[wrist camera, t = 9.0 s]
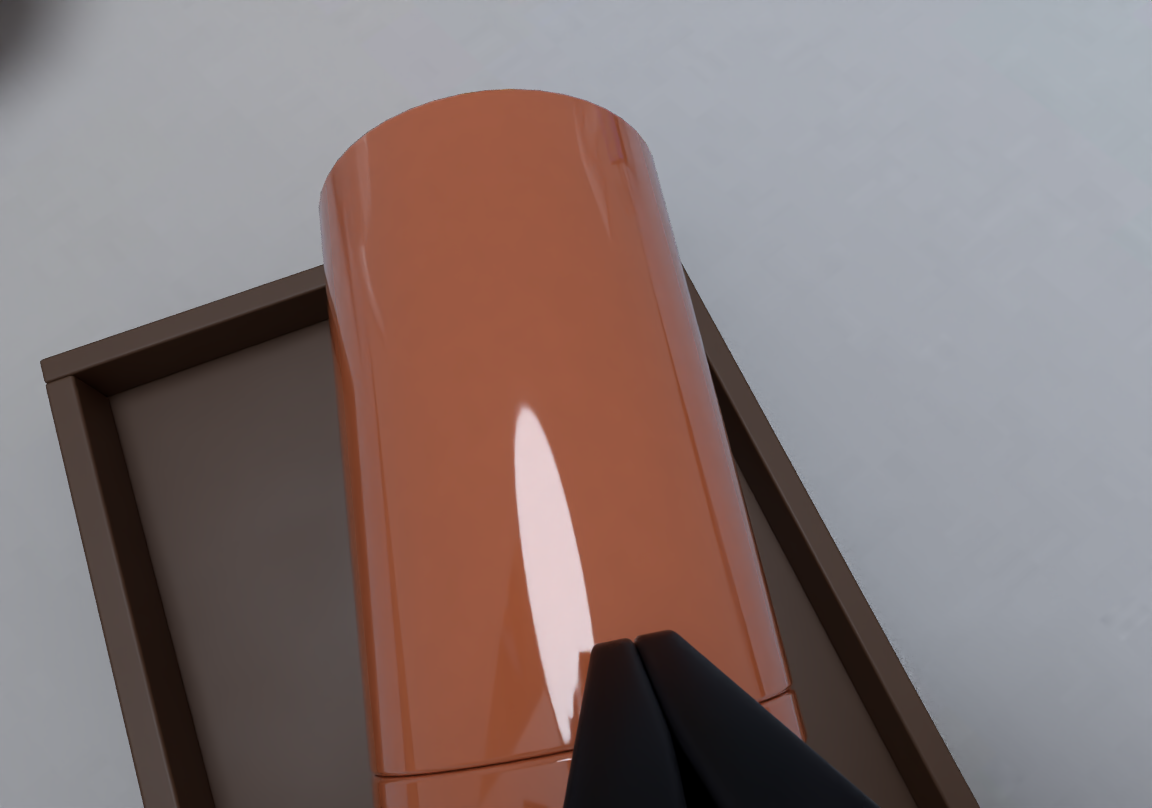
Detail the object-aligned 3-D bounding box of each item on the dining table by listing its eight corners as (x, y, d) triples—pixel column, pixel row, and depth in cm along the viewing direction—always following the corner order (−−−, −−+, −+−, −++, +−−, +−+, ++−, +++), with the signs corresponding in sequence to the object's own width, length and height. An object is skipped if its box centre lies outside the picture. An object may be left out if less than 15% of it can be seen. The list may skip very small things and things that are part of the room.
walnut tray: (1063, 1055, 15) (1154, 1121, 13) (380, 1511, 12) (348, 1692, 10) (616, 213, 21) (626, 160, 19) (96, 396, 18) (37, 359, 16)
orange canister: (904, 741, 10) (704, 86, 13) (360, 883, 8) (294, 85, 12) (711, 722, 16) (610, 282, 20) (383, 800, 14) (336, 301, 18)
